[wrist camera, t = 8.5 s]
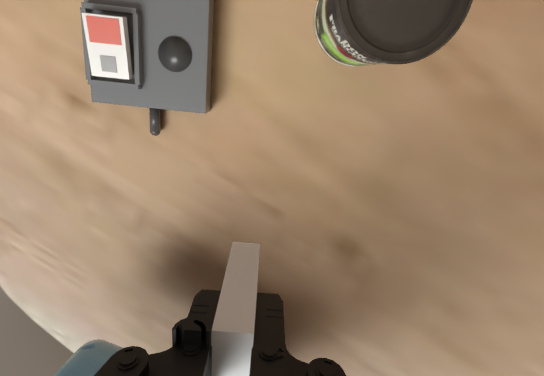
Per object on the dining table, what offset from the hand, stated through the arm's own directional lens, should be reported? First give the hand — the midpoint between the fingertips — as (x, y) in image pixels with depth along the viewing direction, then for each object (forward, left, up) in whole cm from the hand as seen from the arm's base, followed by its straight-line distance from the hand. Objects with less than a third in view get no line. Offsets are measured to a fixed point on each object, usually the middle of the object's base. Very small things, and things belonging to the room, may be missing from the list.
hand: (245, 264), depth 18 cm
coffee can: (+17, -10, -26) cm, 33 cm away
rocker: (+11, +17, -22) cm, 29 cm away
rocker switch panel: (+16, +13, -26) cm, 33 cm away
